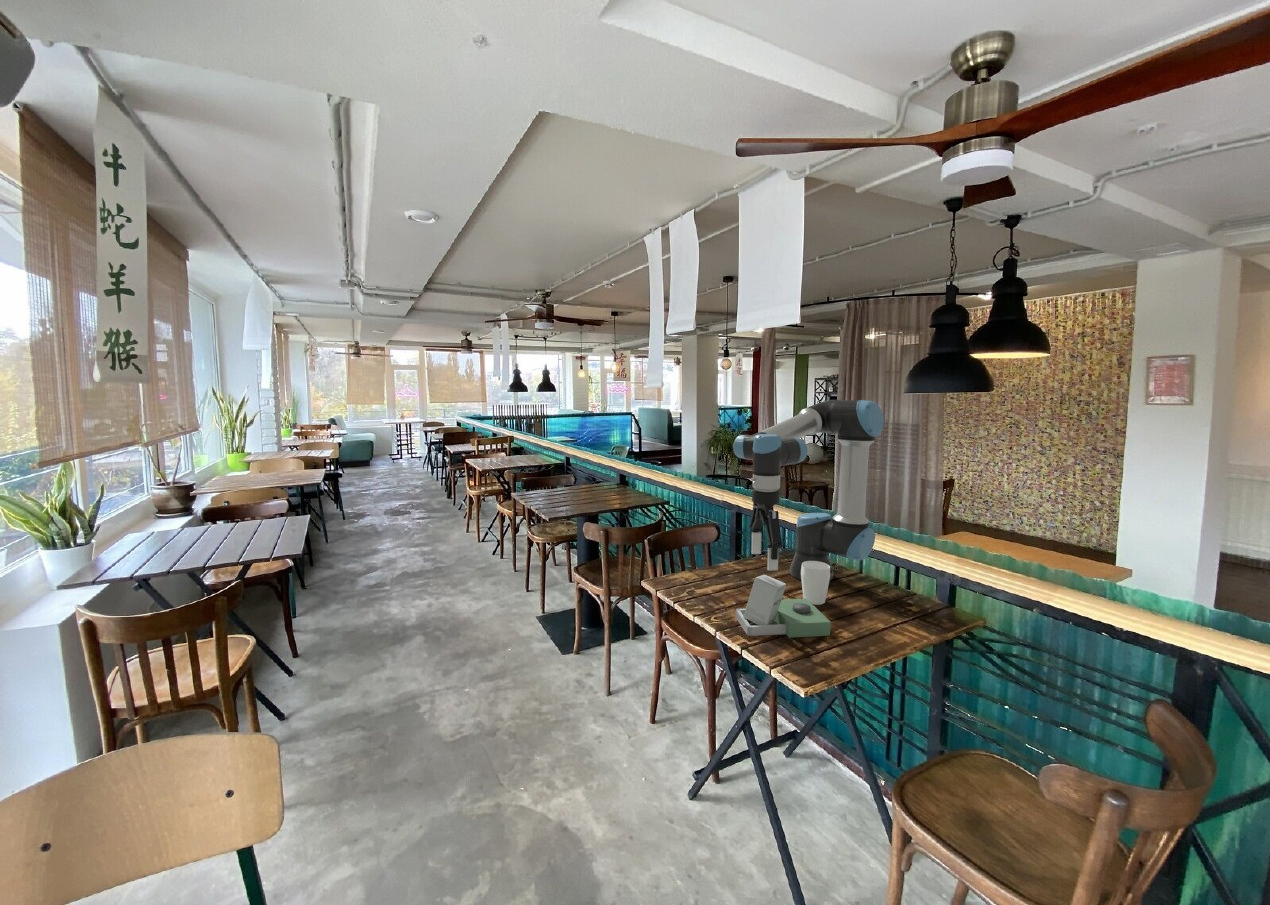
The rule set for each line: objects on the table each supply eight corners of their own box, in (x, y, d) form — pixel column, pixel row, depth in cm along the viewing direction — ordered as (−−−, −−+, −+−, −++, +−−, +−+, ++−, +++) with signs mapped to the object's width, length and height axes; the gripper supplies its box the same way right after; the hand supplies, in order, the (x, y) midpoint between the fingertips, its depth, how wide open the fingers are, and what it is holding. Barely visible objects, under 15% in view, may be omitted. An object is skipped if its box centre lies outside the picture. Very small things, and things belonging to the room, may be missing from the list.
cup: (831, 607, 160) (833, 571, 159) (801, 605, 162) (802, 569, 161) (826, 596, 169) (828, 561, 168) (798, 594, 171) (799, 559, 170)
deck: (805, 610, 158) (806, 594, 158) (830, 635, 142) (831, 617, 142) (733, 613, 156) (733, 597, 155) (750, 639, 140) (750, 621, 140)
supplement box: (765, 629, 143) (778, 587, 142) (742, 617, 148) (754, 576, 146) (775, 624, 149) (787, 583, 148) (752, 612, 154) (764, 573, 152)
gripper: (739, 481, 156) (738, 548, 158) (768, 499, 131) (766, 578, 134) (763, 480, 156) (761, 547, 159) (796, 498, 132) (794, 576, 134)
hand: (764, 561), depth 146 cm, fingers open, 13 cm apart
